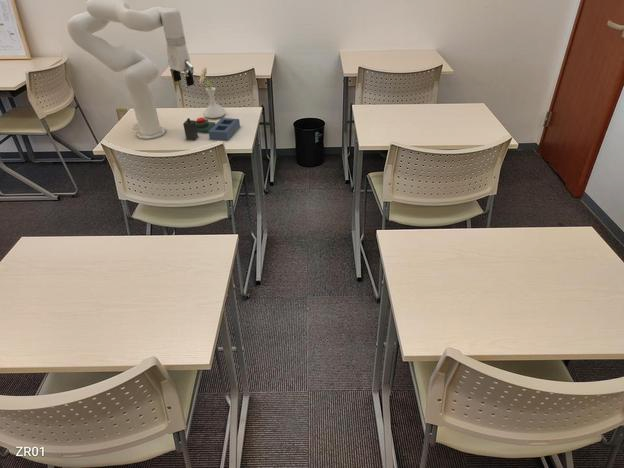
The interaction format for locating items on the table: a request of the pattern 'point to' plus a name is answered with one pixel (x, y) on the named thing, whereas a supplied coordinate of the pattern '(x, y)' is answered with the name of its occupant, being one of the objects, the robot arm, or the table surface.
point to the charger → (190, 129)
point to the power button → (200, 120)
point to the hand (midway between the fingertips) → (184, 82)
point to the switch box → (204, 126)
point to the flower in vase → (211, 100)
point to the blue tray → (224, 129)
